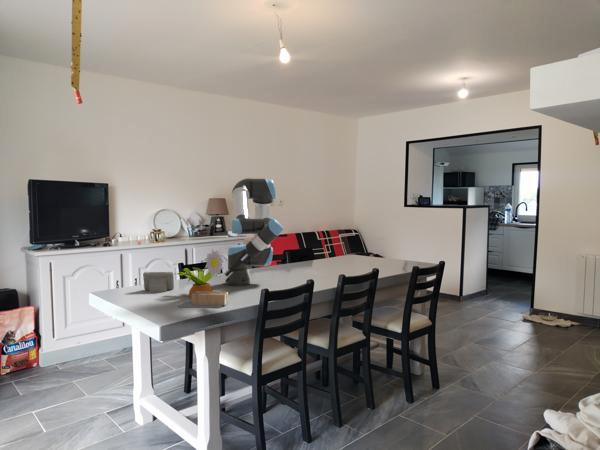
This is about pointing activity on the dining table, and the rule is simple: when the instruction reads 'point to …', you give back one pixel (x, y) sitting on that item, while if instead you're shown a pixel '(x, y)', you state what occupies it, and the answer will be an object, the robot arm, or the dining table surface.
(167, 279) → the digital clock
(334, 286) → the dining table surface
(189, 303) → the slate mat
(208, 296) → the wooden block
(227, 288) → the dining table surface
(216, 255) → the decorative plant
